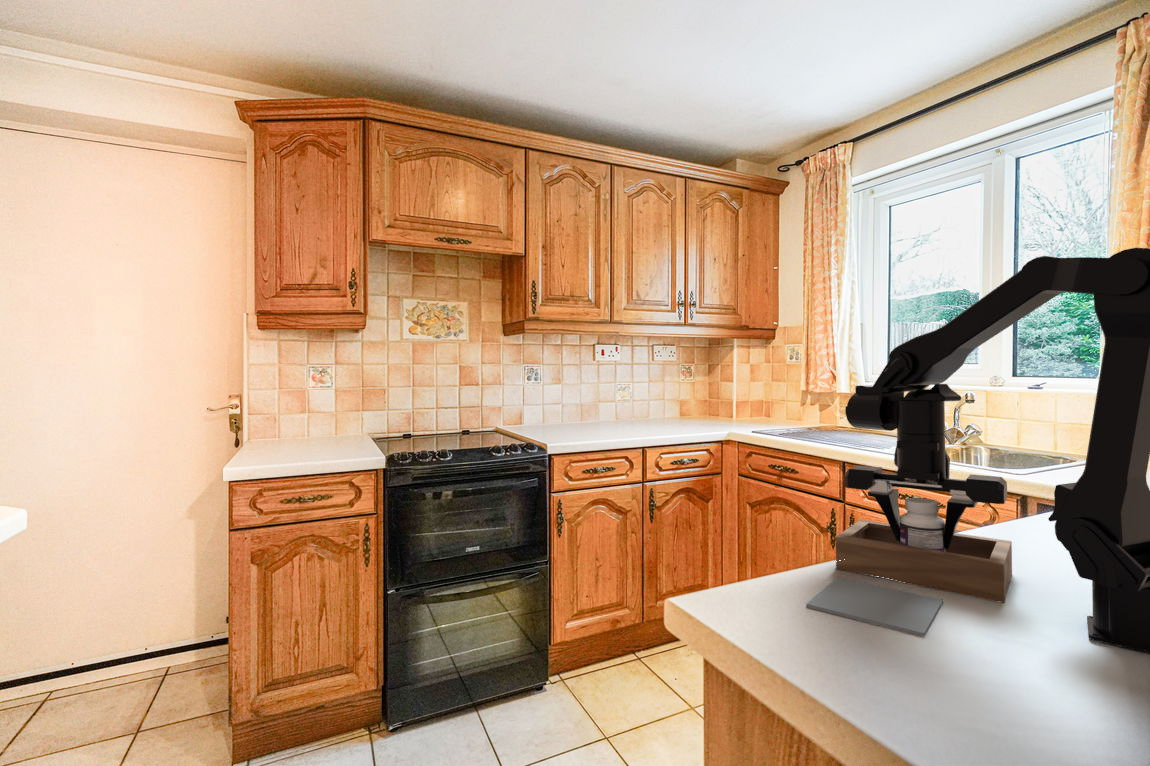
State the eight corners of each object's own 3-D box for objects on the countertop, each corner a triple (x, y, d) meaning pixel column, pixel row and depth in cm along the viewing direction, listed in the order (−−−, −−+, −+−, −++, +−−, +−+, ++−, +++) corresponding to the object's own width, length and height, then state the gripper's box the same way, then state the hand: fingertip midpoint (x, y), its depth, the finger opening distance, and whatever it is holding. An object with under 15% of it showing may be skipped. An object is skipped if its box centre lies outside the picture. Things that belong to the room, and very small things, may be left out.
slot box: (1004, 602, 66) (1003, 564, 66) (836, 568, 78) (835, 536, 79) (1012, 574, 76) (1011, 541, 76) (861, 548, 88) (860, 519, 88)
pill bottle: (903, 561, 81) (902, 495, 81) (947, 568, 77) (946, 499, 77) (897, 571, 77) (896, 501, 77) (943, 579, 73) (942, 506, 73)
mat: (924, 637, 57) (924, 633, 57) (806, 607, 65) (806, 603, 65) (943, 602, 66) (943, 599, 66) (837, 579, 74) (837, 576, 74)
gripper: (1009, 432, 77) (1011, 543, 77) (863, 427, 89) (864, 523, 89) (1002, 438, 69) (1004, 563, 68) (842, 431, 81) (844, 537, 81)
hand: (922, 544), depth 77 cm, fingers closed on pill bottle, 5 cm apart
